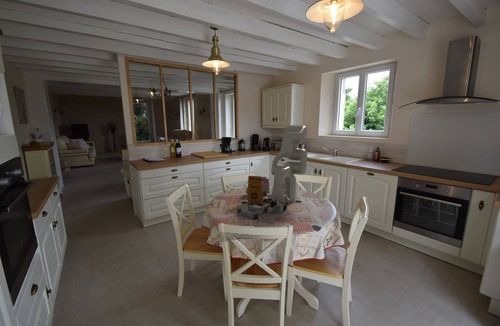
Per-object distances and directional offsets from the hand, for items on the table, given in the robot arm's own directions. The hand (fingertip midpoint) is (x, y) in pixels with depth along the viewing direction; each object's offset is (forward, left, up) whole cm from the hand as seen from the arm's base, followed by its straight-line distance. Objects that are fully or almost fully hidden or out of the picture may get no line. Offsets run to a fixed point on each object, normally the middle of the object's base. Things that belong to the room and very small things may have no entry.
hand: (278, 209), depth 157 cm
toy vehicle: (-23, -32, -3) cm, 39 cm away
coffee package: (-6, -23, -3) cm, 24 cm away
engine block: (-1, 0, -3) cm, 3 cm away
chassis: (+11, -14, -2) cm, 18 cm away
